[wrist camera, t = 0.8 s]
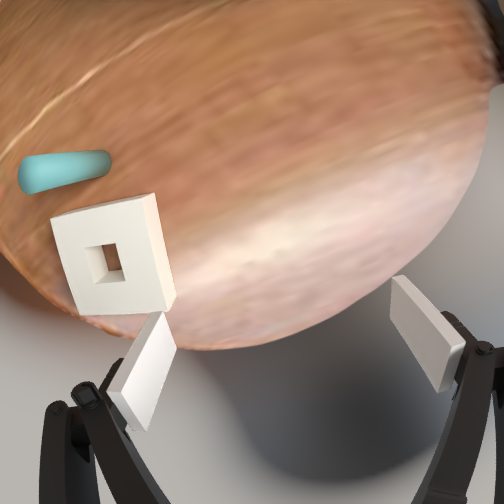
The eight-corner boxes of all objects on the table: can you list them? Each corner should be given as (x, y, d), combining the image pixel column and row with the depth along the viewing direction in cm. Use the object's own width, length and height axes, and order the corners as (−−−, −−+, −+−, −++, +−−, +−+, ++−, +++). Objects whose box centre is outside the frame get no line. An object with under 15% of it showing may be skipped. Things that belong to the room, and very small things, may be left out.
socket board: (68, 211, 40) (50, 218, 35) (154, 192, 39) (141, 198, 34) (93, 301, 45) (80, 315, 41) (176, 295, 44) (168, 311, 40)
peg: (87, 153, 37) (15, 162, 22) (109, 147, 37) (39, 151, 22) (91, 179, 38) (21, 198, 23) (113, 173, 38) (44, 189, 23)
